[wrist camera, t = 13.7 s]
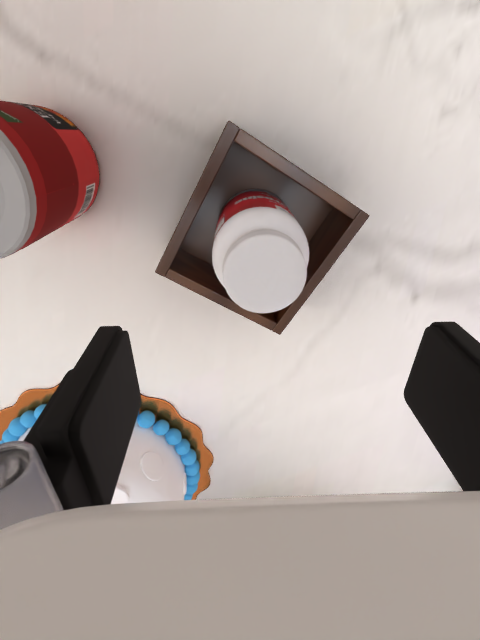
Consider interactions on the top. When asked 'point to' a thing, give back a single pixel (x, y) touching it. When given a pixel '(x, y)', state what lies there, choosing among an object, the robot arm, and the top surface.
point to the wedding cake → (136, 449)
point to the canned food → (41, 174)
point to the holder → (277, 178)
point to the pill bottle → (260, 252)
